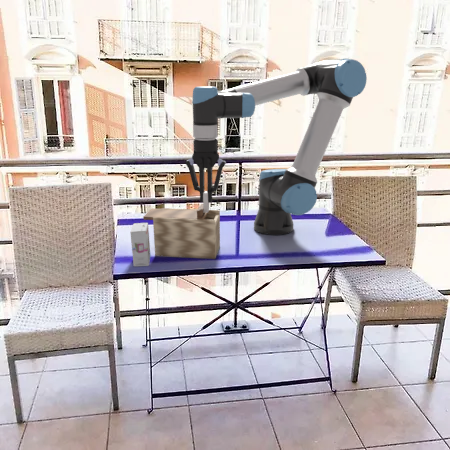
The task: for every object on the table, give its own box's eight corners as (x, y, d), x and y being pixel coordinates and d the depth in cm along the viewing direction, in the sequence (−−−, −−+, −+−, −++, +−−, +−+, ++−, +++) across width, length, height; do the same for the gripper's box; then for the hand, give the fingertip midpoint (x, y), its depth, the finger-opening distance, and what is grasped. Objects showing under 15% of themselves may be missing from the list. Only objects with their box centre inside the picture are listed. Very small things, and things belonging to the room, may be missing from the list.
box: (219, 246, 160) (219, 210, 155) (215, 258, 149) (214, 220, 145) (163, 244, 162) (161, 208, 158) (155, 255, 152) (153, 217, 147)
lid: (208, 213, 155) (207, 203, 154) (203, 222, 146) (203, 211, 145) (151, 211, 158) (151, 201, 157) (143, 219, 149) (142, 209, 148)
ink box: (135, 256, 151) (133, 222, 148) (150, 255, 152) (148, 221, 148) (132, 266, 143) (130, 231, 140) (148, 266, 144) (146, 230, 140)
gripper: (227, 137, 145) (227, 208, 153) (187, 136, 147) (188, 207, 154) (224, 140, 138) (224, 215, 146) (182, 139, 140) (184, 214, 147)
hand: (206, 211), depth 150 cm, fingers closed
